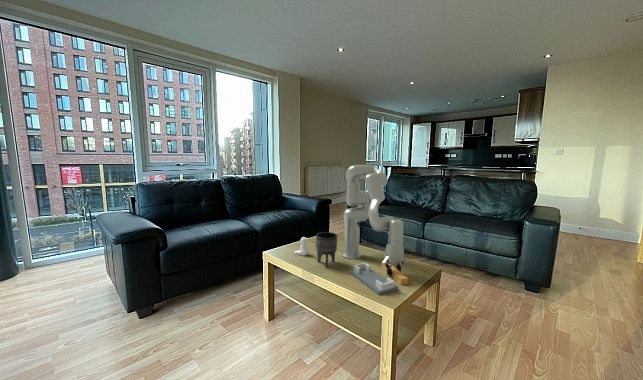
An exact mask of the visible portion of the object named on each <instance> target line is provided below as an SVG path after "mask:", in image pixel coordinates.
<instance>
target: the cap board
mask: <svg viewBox="0 0 643 380" xmlns="http://www.w3.org/2000/svg"><path fill="white" fill-rule="evenodd" d="M349 273H350V275H352V276H353V277H354V278H355V279H356V280H358V281H359V282H361V283H362V284H363V285H365V286H366V287H367V288H369V289H370V290H371V291H372V292H374V293H375V294H377V295H378V296H379V295H383V293H384V294H386V293H390V291H391V292H394V290H395V291H398V290H399V286H398V285H396V280H395V281H394V280H392V279H391V278H390V277H386V278H385V277H384V276H383V275H381V274H380V273H378V272H376V271H375V270H373V269H371V265H369V264H368V263H366V262H362V263H357V264H354V265H353V269H352V270H350V271H349ZM397 289H398V290H397Z"/></svg>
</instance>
